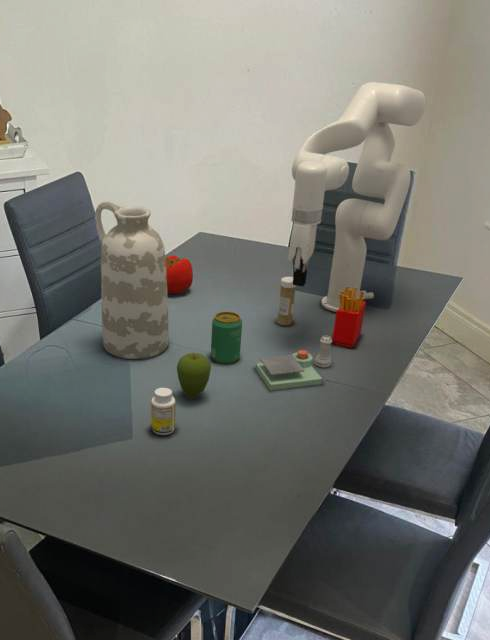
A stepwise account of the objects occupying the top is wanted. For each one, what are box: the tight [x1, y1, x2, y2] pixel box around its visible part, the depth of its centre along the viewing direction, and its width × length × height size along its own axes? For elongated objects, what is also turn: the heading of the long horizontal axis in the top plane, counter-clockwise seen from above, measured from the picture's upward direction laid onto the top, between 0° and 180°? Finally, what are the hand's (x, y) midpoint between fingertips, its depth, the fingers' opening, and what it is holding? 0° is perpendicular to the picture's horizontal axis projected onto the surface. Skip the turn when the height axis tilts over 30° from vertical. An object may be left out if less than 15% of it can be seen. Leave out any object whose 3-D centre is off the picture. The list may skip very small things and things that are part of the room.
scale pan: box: [259, 354, 305, 375], centre depth 192 cm, size 9×9×1 cm
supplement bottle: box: [150, 387, 176, 436], centre depth 171 cm, size 6×6×10 cm
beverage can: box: [210, 311, 243, 365], centre depth 200 cm, size 8×8×12 cm
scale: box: [254, 351, 323, 391], centre depth 194 cm, size 15×12×4 cm
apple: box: [176, 352, 212, 399], centre depth 184 cm, size 9×8×12 cm
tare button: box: [297, 349, 309, 360], centre depth 196 cm, size 3×3×2 cm
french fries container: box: [331, 286, 367, 348], centre depth 208 cm, size 7×9×14 cm
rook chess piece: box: [314, 334, 332, 369], centre depth 198 cm, size 4×4×8 cm
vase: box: [94, 201, 170, 360], centre depth 198 cm, size 20×19×38 cm
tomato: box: [165, 254, 194, 295], centre depth 238 cm, size 14×13×10 cm
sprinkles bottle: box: [276, 276, 297, 326], centre depth 217 cm, size 5×5×13 cm
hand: (299, 284), depth 200 cm, fingers closed
